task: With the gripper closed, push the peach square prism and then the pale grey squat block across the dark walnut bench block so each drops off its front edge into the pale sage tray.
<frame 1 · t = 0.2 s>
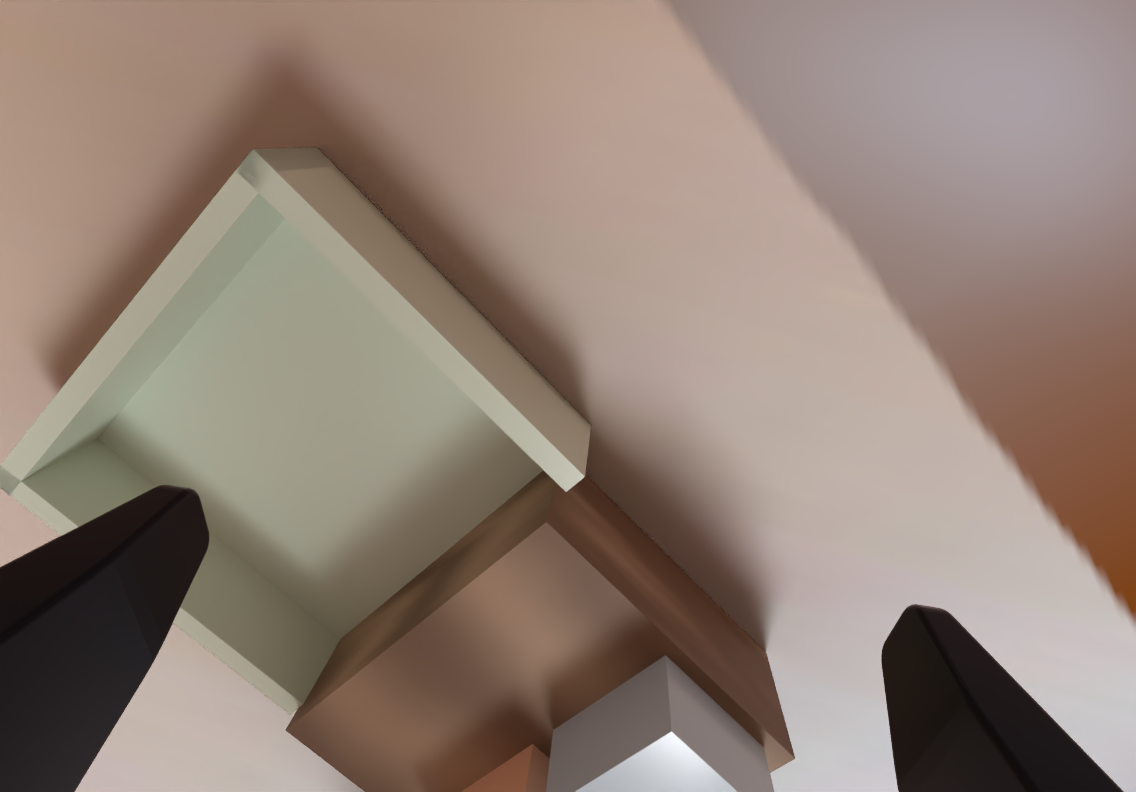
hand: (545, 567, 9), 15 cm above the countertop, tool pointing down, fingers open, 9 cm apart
sage tray: (326, 428, 25), on the countertop
walnut bench block: (548, 643, 28), on the countertop
pale grey squat block: (657, 738, 23), point 5 cm above the countertop, touching walnut bench block
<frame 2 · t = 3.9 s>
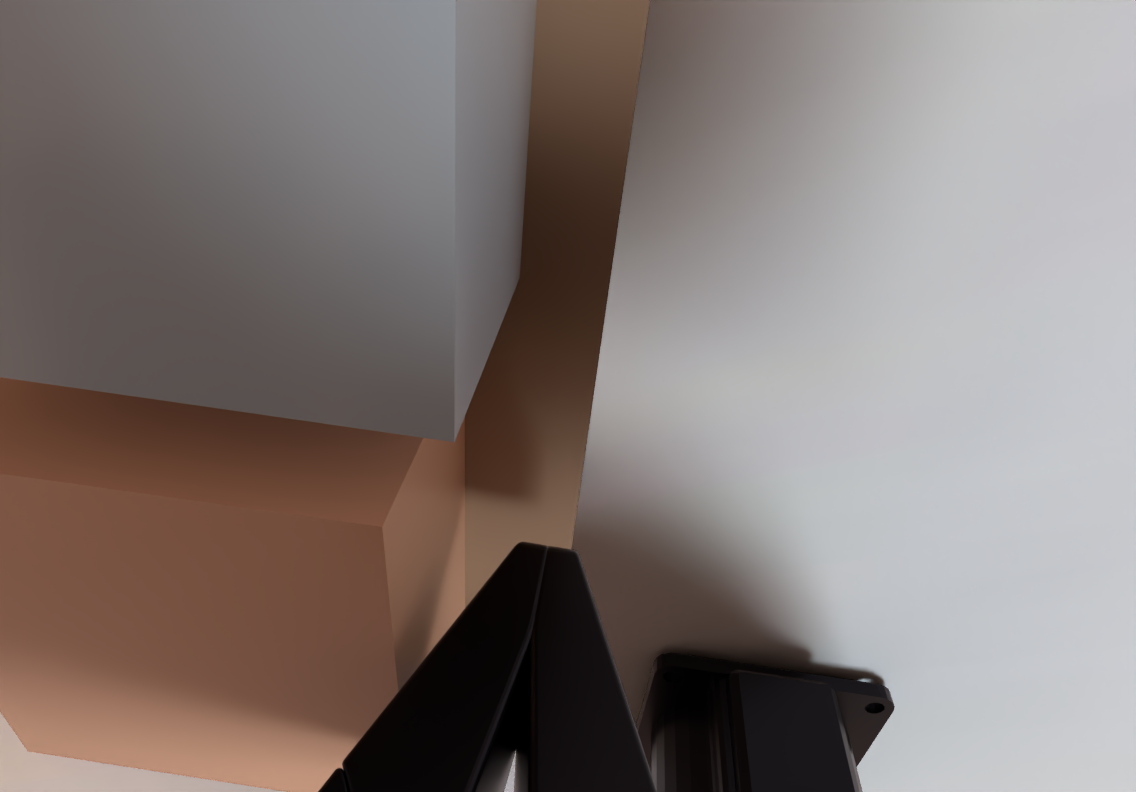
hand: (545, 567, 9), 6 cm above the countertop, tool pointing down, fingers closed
peach square prism: (292, 477, 10), point 5 cm above the countertop, touching gripper
walnut bench block: (291, 178, 12), on the countertop
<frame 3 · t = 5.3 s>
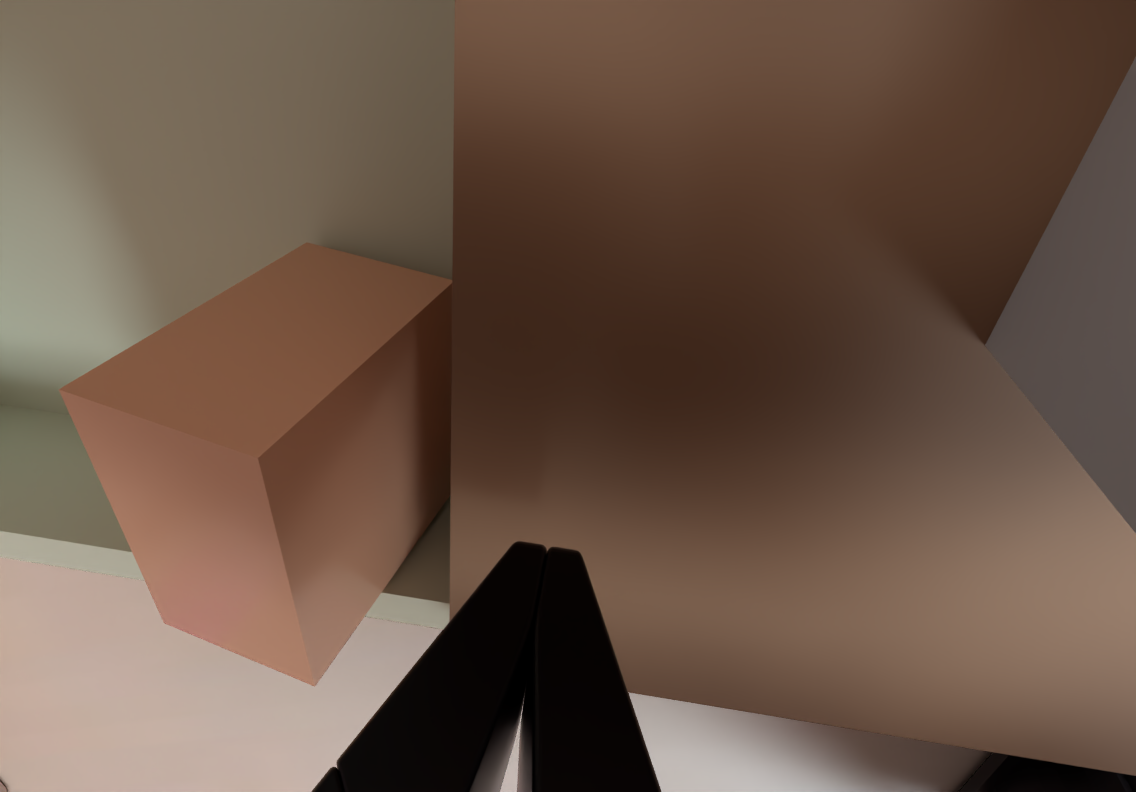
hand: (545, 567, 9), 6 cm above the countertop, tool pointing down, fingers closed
sage tray: (170, 133, 12), on the countertop
peach square prism: (387, 476, 11), point 4 cm above the countertop, tilted 103°, touching sage tray
walnut bench block: (850, 256, 12), on the countertop
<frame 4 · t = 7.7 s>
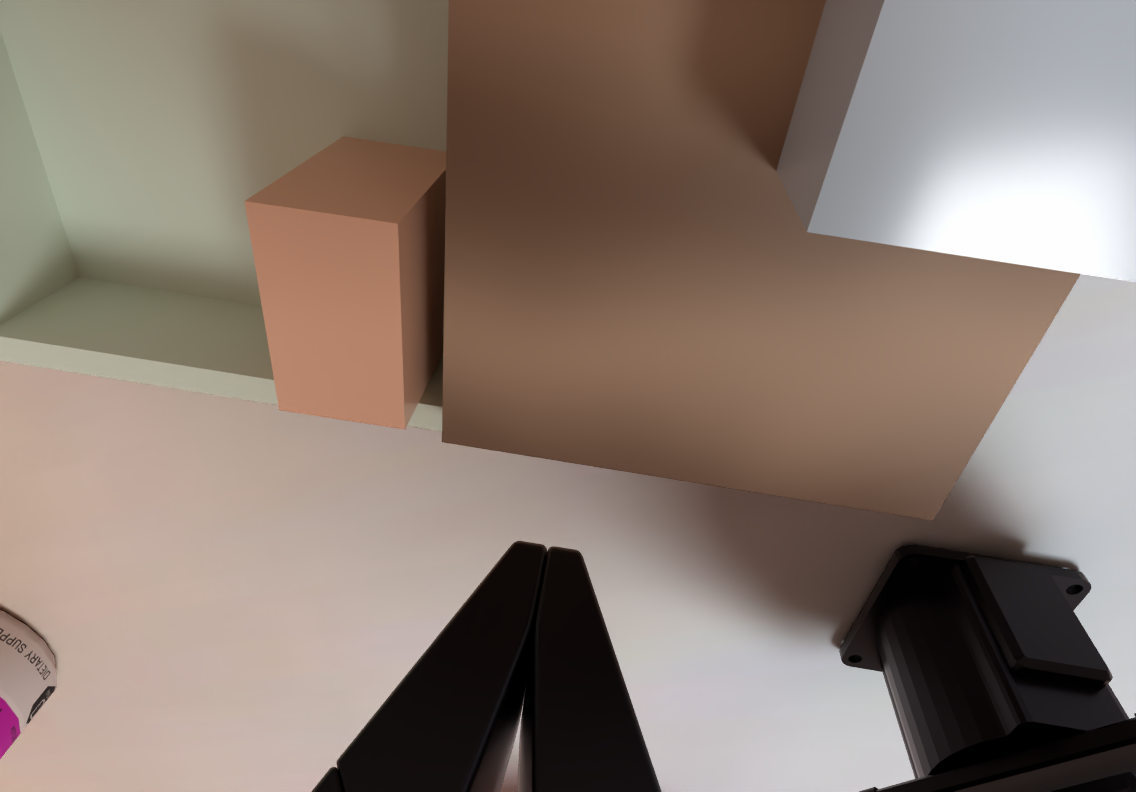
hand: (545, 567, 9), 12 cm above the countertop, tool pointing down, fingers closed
sage tray: (238, 56, 17), on the countertop
peach square prism: (433, 286, 16), point 3 cm above the countertop, tilted 90°, touching sage tray
walnut bench block: (734, 153, 17), on the countertop
pale grey squat block: (980, 36, 11), point 5 cm above the countertop, touching walnut bench block
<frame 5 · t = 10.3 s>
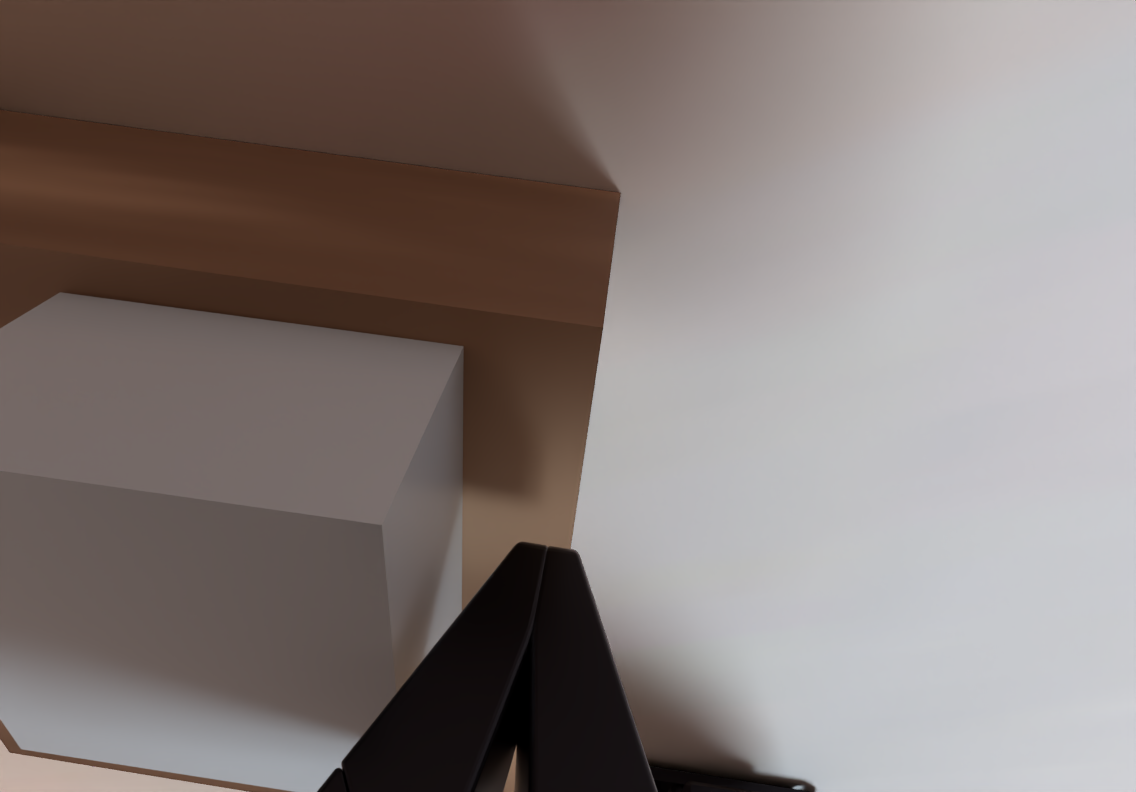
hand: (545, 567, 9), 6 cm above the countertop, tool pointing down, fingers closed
walnut bench block: (324, 434, 16), on the countertop
pale grey squat block: (288, 474, 10), point 5 cm above the countertop, touching gripper
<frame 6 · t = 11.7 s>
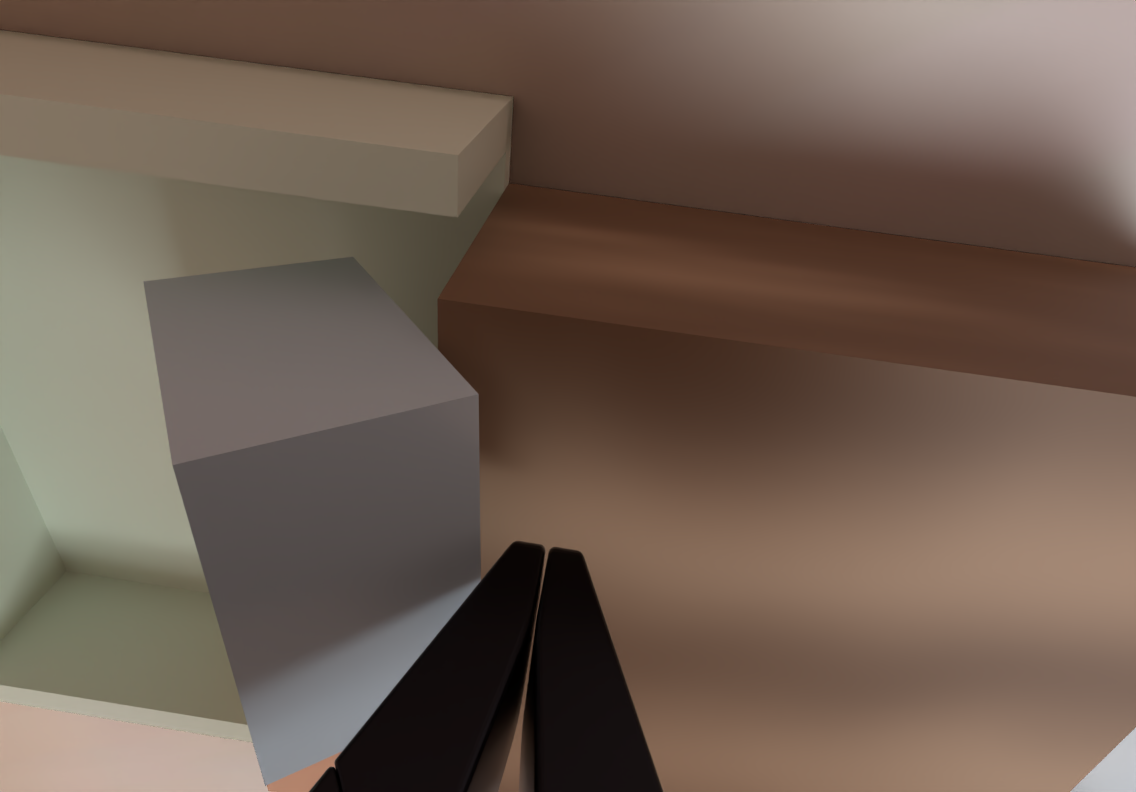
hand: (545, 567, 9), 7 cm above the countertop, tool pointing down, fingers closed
sage tray: (225, 399, 16), on the countertop
peach square prism: (430, 644, 16), point 3 cm above the countertop, tilted 90°, touching sage tray
walnut bench block: (745, 492, 16), on the countertop
pale grey squat block: (414, 460, 11), point 5 cm above the countertop, tilted 54°
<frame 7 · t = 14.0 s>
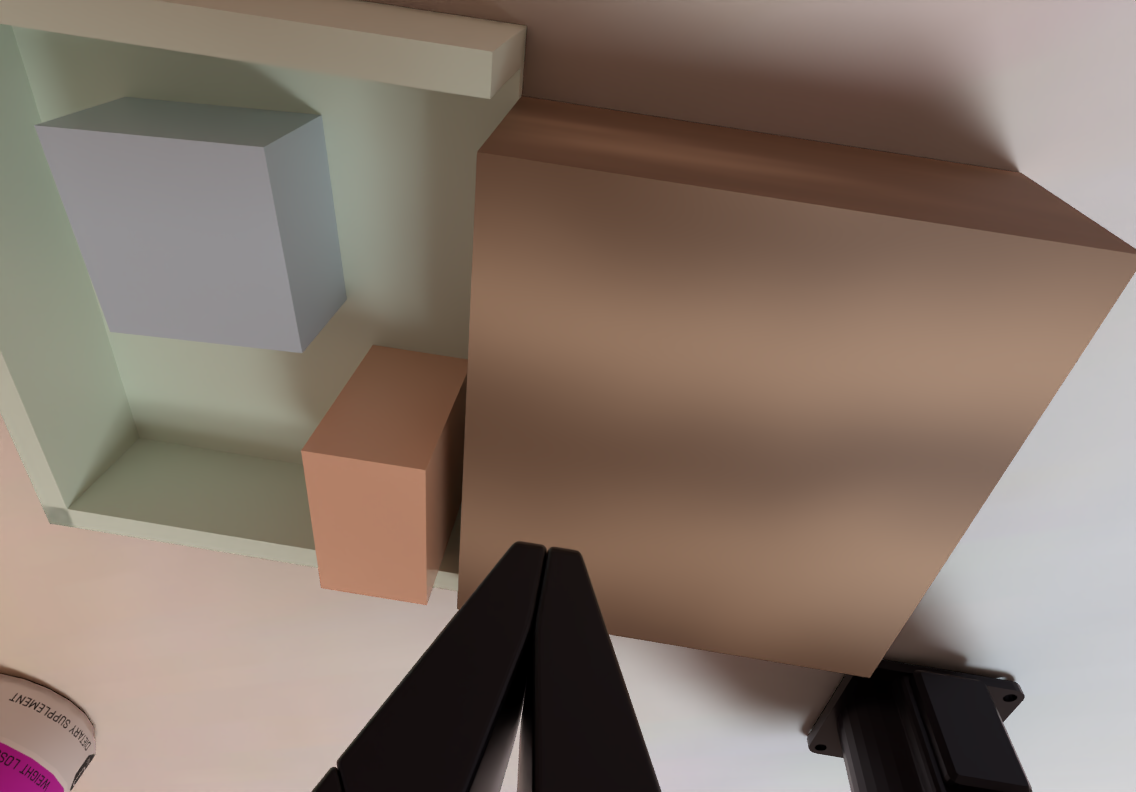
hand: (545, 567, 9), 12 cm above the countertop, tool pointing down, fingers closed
sage tray: (285, 280, 20), on the countertop
peach square prism: (450, 478, 20), point 3 cm above the countertop, tilted 90°, touching sage tray
walnut bench block: (705, 362, 20), on the countertop
pale grey squat block: (179, 248, 16), point 3 cm above the countertop, tilted 180°, touching sage tray
supplement can: (31, 708, 37), on the countertop
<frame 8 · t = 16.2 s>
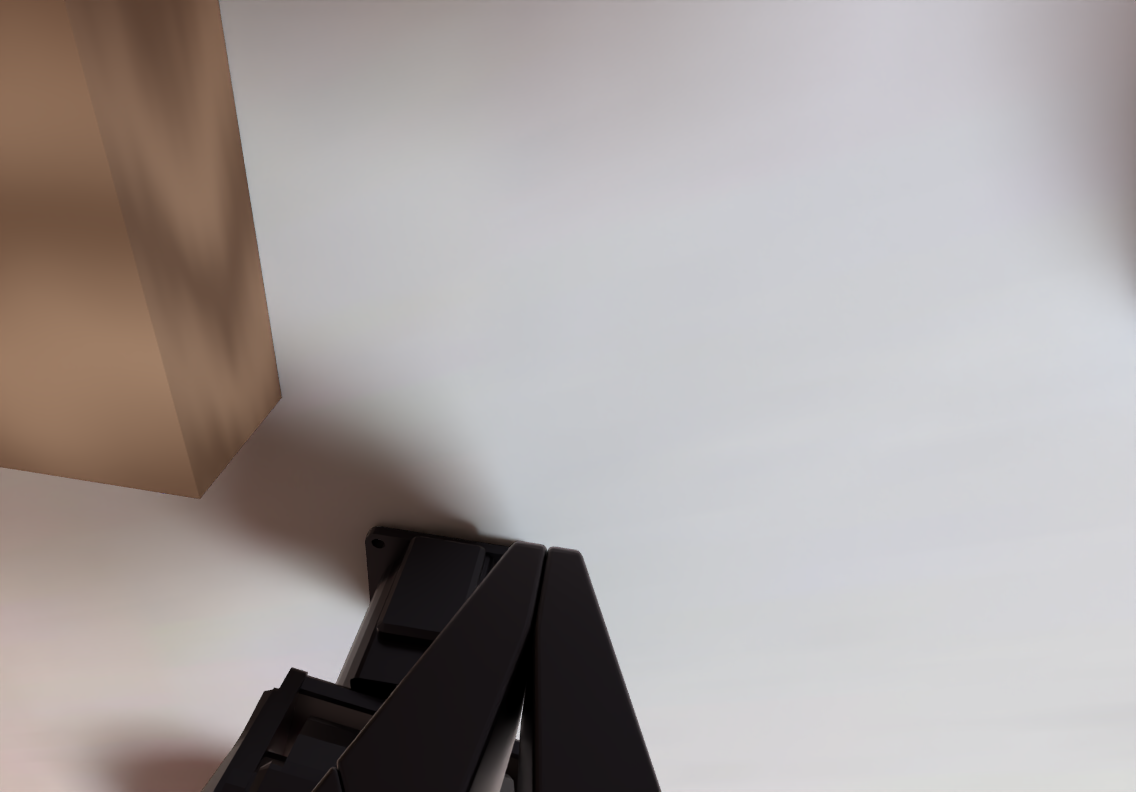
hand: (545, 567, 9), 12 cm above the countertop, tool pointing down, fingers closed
walnut bench block: (47, 181, 19), on the countertop
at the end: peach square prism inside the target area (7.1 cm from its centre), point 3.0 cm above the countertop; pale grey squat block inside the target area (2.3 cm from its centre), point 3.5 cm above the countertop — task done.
